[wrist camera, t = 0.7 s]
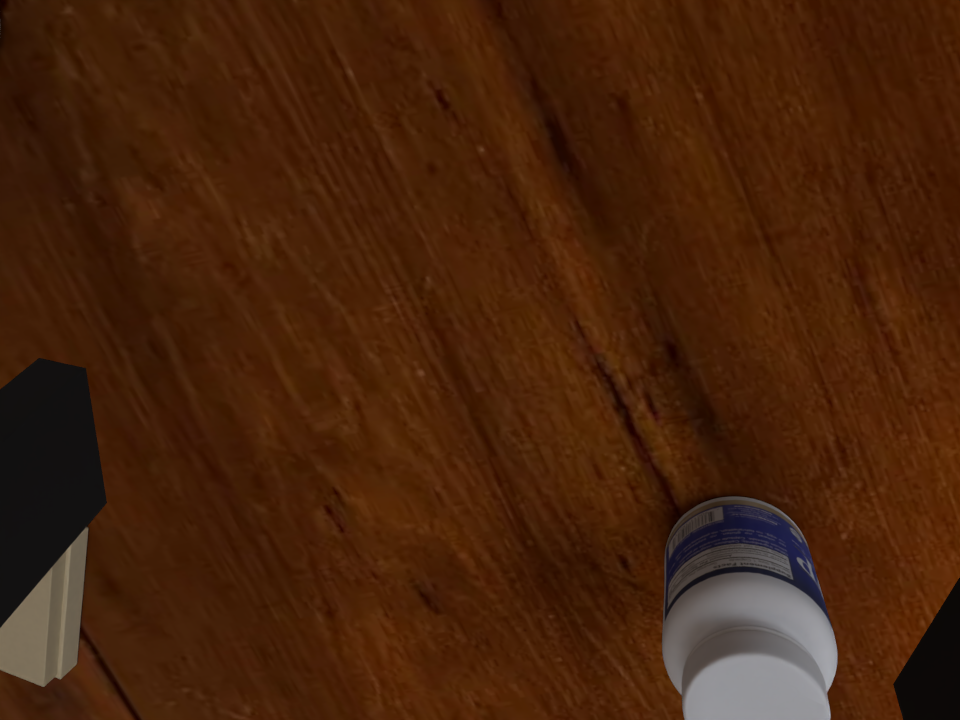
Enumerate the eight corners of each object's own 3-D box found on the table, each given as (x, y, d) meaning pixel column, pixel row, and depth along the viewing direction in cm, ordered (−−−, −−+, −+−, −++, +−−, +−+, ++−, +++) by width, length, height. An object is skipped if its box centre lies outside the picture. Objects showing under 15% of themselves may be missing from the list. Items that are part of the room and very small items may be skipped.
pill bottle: (811, 617, 32) (857, 801, 23) (669, 615, 33) (666, 788, 25) (807, 489, 30) (855, 636, 22) (659, 492, 31) (652, 633, 23)
